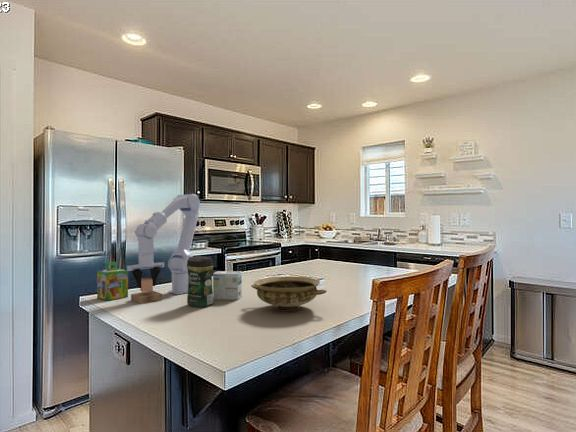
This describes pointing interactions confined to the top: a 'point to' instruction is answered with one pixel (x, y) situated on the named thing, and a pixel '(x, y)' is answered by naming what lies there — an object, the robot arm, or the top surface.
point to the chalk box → (112, 283)
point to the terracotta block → (146, 285)
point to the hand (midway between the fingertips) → (146, 286)
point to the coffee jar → (200, 281)
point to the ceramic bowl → (287, 291)
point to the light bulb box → (227, 285)
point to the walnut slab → (146, 297)
